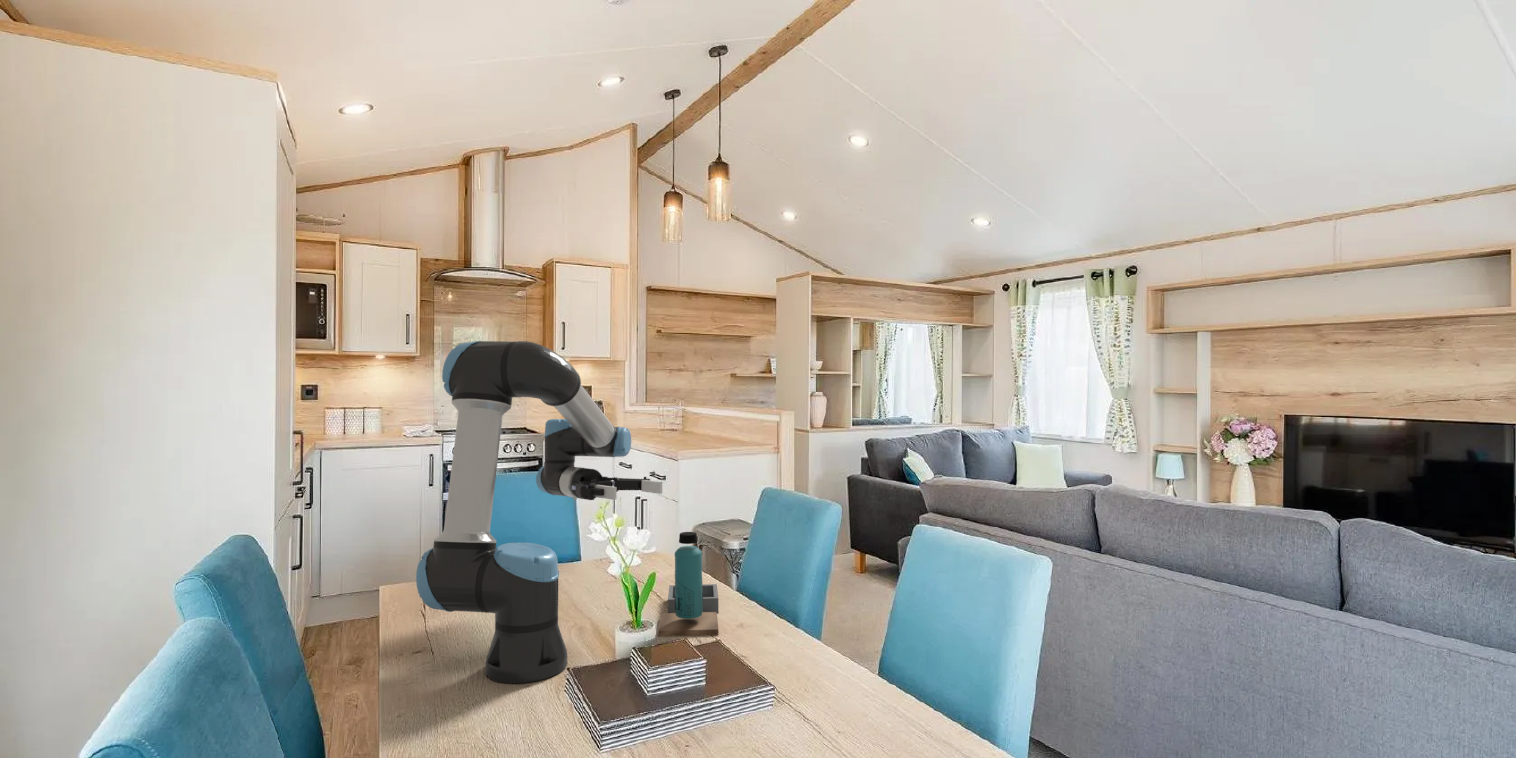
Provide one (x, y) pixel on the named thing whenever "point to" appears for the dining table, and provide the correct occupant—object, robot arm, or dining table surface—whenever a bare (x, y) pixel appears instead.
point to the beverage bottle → (688, 578)
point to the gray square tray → (708, 598)
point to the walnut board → (688, 625)
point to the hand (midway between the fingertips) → (638, 490)
